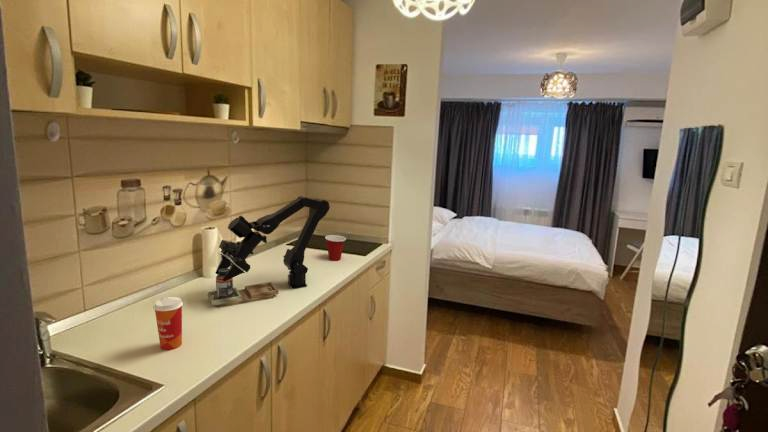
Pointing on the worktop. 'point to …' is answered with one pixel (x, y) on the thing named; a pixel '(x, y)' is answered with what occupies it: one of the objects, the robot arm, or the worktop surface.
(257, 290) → the wooden tray
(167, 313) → the paper cup
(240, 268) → the robot arm
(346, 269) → the worktop surface
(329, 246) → the plastic cup
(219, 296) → the supplement bottle
